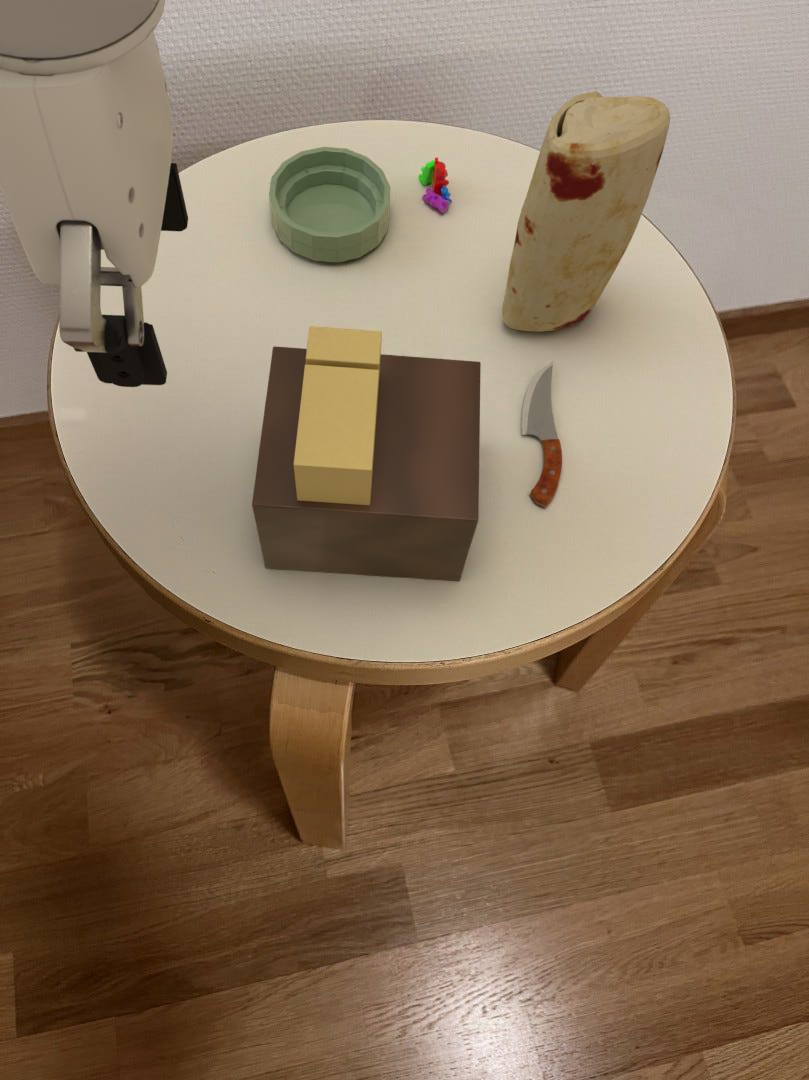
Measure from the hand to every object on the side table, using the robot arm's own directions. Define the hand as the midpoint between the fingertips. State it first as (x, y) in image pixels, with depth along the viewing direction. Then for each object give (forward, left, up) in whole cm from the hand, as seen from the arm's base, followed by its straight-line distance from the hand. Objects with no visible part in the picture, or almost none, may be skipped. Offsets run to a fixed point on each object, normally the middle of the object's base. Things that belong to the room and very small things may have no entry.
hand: (146, 299), depth 45 cm
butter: (+10, -1, -13) cm, 16 cm away
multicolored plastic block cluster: (+16, +32, -23) cm, 42 cm away
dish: (+7, +28, -23) cm, 37 cm away
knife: (+25, +8, -23) cm, 35 cm away
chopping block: (+12, +1, -23) cm, 26 cm away
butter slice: (+10, +4, -13) cm, 17 cm away
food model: (+26, +20, -23) cm, 40 cm away
